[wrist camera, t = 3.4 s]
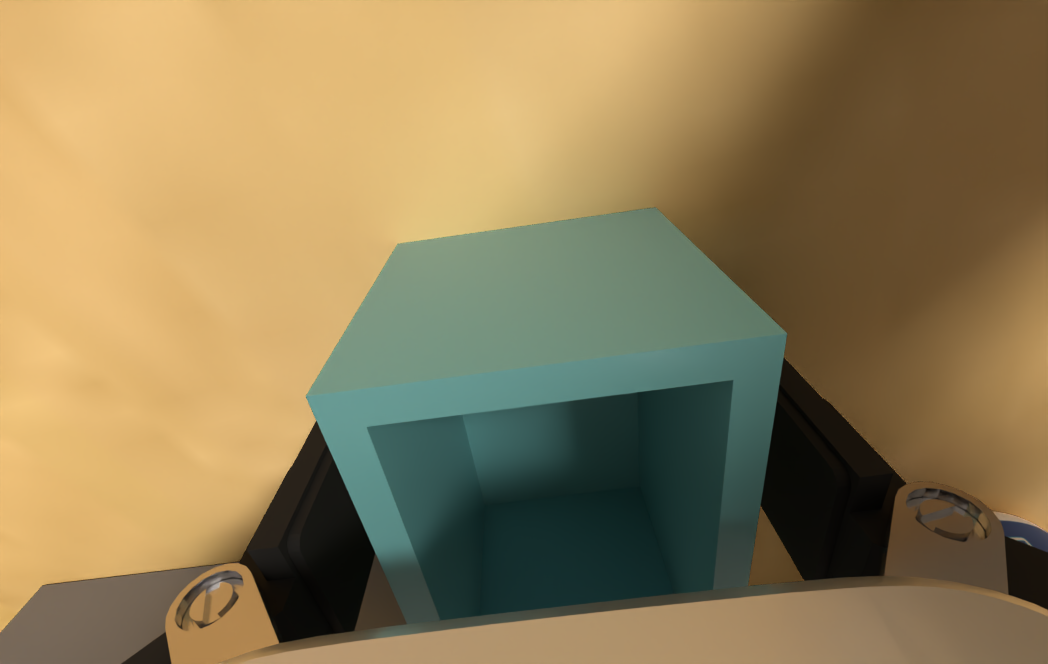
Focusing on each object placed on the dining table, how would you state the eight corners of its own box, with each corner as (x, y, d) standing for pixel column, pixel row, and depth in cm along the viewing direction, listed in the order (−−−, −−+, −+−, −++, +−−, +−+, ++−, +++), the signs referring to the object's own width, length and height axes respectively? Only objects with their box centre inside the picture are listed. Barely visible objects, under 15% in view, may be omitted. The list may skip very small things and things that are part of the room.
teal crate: (654, 205, 11) (787, 333, 6) (654, 482, 15) (730, 697, 10) (398, 241, 11) (305, 396, 6) (470, 505, 16) (452, 726, 10)
